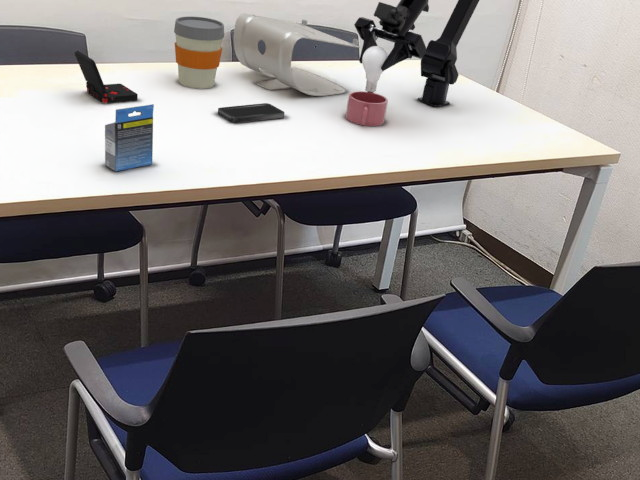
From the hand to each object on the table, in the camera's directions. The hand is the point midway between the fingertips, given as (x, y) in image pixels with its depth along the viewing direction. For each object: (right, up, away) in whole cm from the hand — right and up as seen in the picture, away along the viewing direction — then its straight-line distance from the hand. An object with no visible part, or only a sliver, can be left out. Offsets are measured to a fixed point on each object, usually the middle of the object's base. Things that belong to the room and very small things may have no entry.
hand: (370, 65), depth 210 cm
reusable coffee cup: (-44, +1, +17) cm, 47 cm away
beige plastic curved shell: (-19, +5, +28) cm, 34 cm away
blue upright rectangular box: (-52, -32, -35) cm, 70 cm away
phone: (-29, -12, 0) cm, 31 cm away
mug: (-1, -11, +7) cm, 13 cm away
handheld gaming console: (-63, -8, -1) cm, 64 cm away
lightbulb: (0, -5, +5) cm, 7 cm away
